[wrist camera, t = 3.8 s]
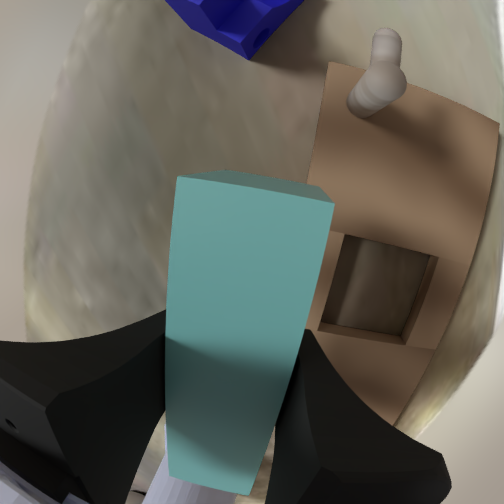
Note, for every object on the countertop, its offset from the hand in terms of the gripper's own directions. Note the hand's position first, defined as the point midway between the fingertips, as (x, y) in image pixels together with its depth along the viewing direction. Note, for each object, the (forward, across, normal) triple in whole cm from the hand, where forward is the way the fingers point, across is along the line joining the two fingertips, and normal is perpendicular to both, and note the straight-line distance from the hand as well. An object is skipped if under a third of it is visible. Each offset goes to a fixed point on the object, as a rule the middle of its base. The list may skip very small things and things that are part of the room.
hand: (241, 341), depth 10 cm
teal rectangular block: (+2, 0, 0) cm, 2 cm away
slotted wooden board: (+8, -7, 0) cm, 11 cm away
